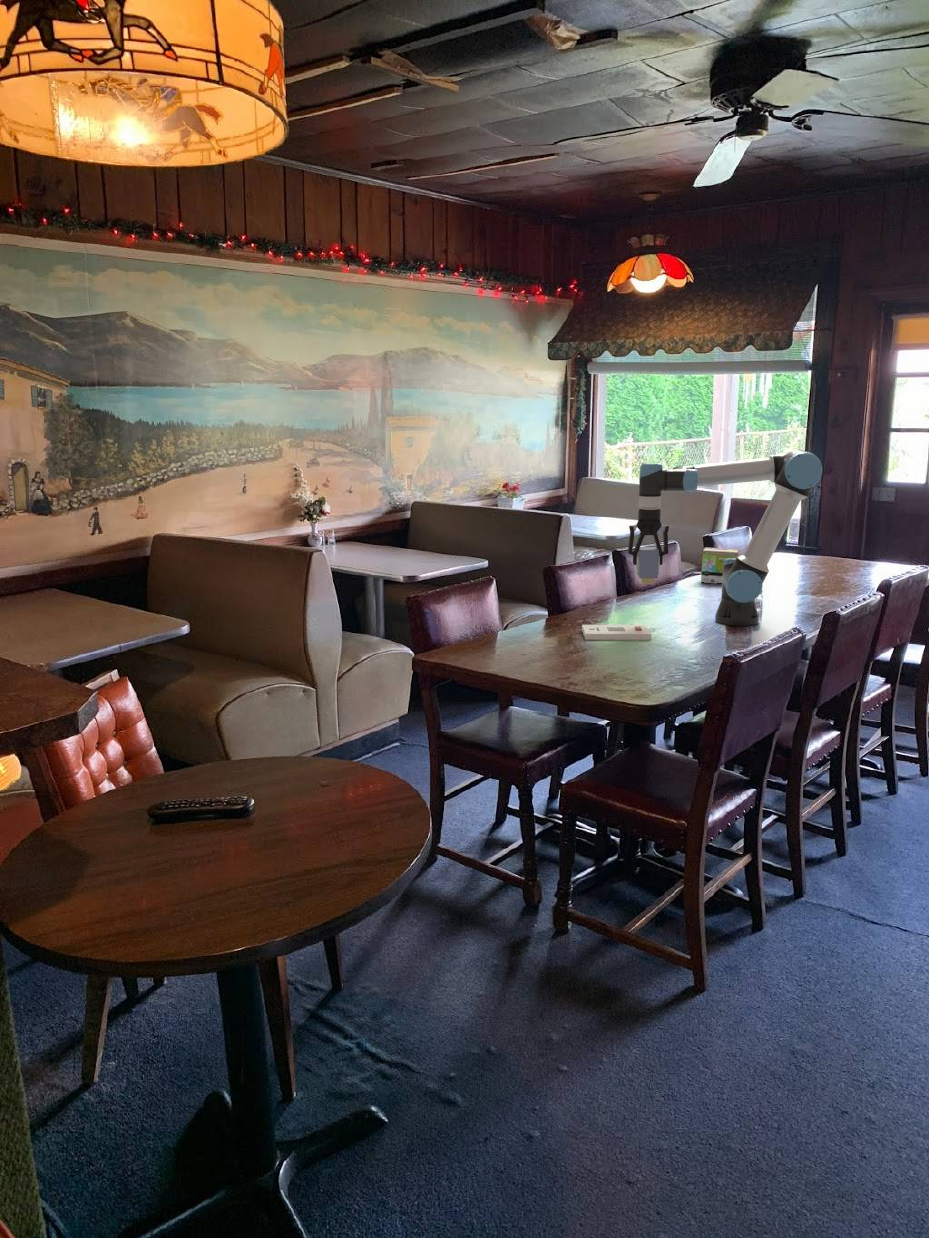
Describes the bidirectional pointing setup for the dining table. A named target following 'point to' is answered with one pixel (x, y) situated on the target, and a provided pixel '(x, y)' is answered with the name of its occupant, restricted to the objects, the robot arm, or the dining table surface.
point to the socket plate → (616, 632)
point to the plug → (648, 564)
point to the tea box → (715, 563)
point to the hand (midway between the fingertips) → (647, 574)
